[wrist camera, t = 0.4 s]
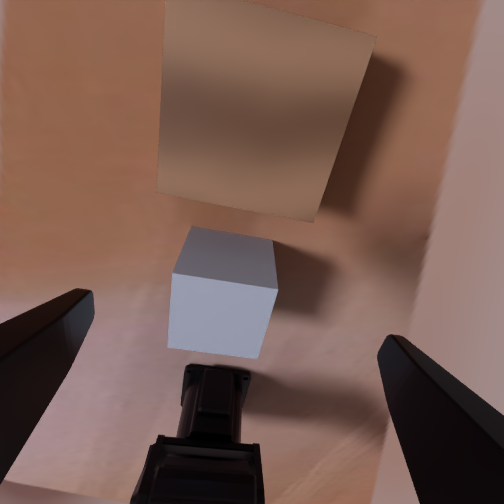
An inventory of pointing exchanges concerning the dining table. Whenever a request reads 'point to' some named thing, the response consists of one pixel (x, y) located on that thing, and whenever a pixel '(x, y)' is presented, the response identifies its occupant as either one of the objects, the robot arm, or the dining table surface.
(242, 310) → the slate cube
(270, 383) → the dining table surface
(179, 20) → the tan flat square block
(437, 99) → the dining table surface
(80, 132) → the dining table surface
